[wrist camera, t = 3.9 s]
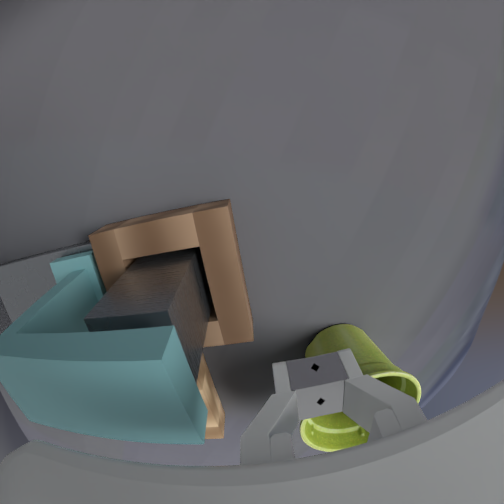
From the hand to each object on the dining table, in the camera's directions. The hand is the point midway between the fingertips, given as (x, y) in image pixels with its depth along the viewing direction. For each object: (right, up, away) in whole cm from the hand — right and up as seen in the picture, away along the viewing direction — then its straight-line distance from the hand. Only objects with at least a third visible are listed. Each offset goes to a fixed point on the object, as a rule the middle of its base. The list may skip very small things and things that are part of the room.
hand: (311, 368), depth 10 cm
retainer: (-12, +2, +11) cm, 16 cm away
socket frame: (-16, +1, +12) cm, 20 cm away
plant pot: (+6, -5, +15) cm, 16 cm away
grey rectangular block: (-8, +3, +12) cm, 14 cm away
